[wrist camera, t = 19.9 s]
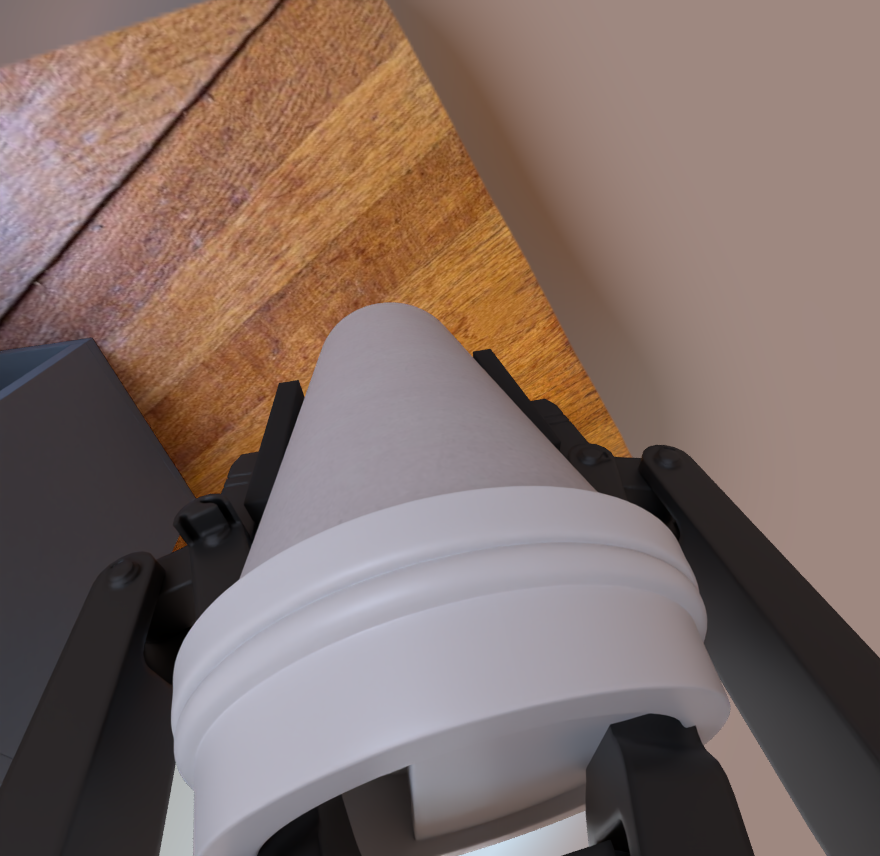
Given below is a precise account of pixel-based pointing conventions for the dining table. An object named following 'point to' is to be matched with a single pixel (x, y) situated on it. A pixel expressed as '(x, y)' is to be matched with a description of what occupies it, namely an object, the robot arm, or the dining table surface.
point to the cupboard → (68, 507)
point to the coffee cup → (429, 617)
